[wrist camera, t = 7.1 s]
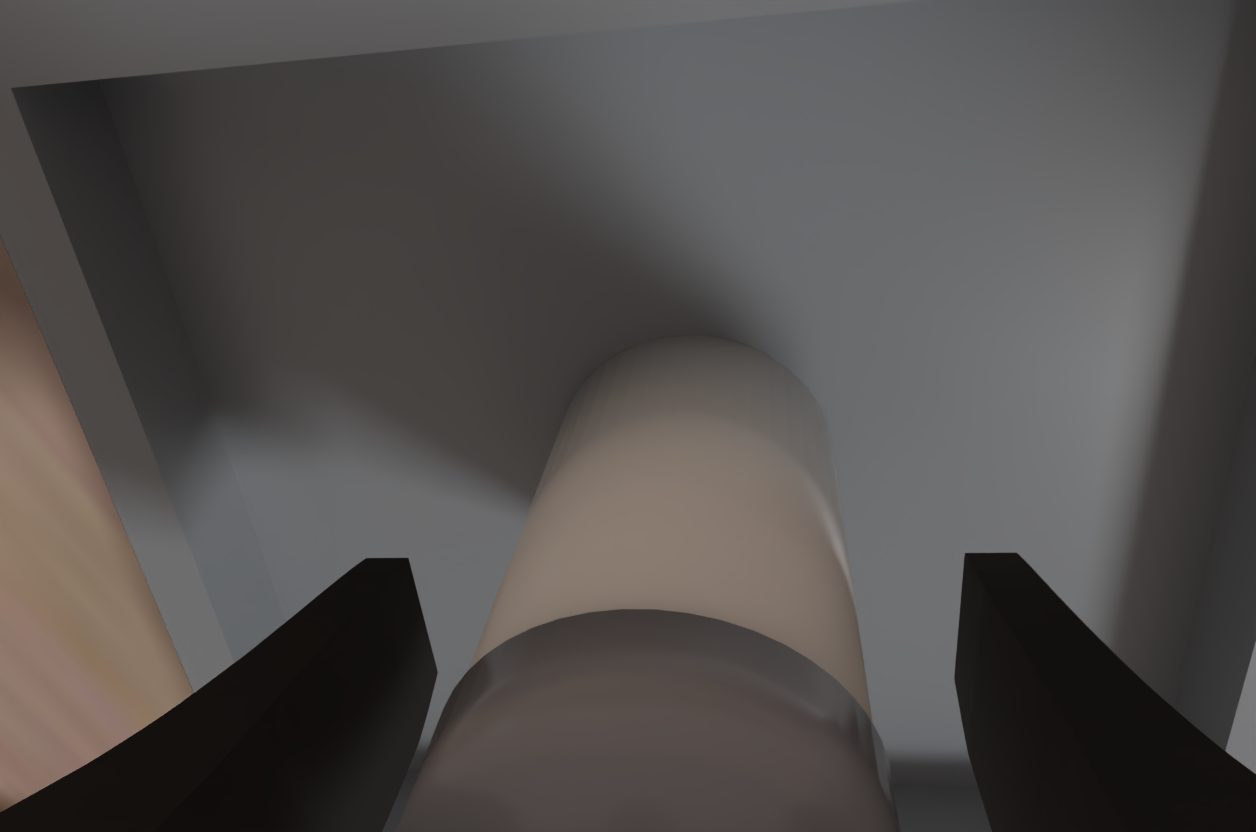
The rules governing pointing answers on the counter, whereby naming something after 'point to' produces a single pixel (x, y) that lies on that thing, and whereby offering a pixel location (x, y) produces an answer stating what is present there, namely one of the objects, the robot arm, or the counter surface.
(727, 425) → the shaker
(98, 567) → the counter surface
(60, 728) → the counter surface
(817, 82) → the tray
